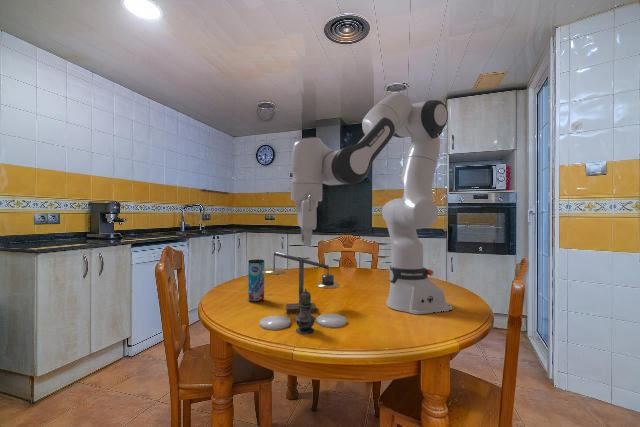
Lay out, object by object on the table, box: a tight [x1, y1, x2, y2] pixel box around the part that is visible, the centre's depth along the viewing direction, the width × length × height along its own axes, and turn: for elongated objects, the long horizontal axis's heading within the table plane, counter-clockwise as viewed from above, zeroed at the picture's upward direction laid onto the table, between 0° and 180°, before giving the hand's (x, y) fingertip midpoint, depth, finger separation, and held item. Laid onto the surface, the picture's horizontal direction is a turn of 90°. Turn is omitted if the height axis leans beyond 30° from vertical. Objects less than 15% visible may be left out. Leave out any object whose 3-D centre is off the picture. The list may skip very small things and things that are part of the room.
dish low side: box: [316, 313, 347, 328], centre depth 94 cm, size 9×9×1 cm
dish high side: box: [259, 315, 291, 331], centre depth 91 cm, size 9×9×1 cm
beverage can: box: [247, 259, 265, 303], centre depth 115 cm, size 6×6×15 cm
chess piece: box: [294, 287, 317, 336], centre depth 86 cm, size 6×6×12 cm
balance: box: [262, 251, 340, 315], centre depth 104 cm, size 26×8×20 cm, turn 97°
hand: (305, 244), depth 86 cm, fingers open, 8 cm apart
